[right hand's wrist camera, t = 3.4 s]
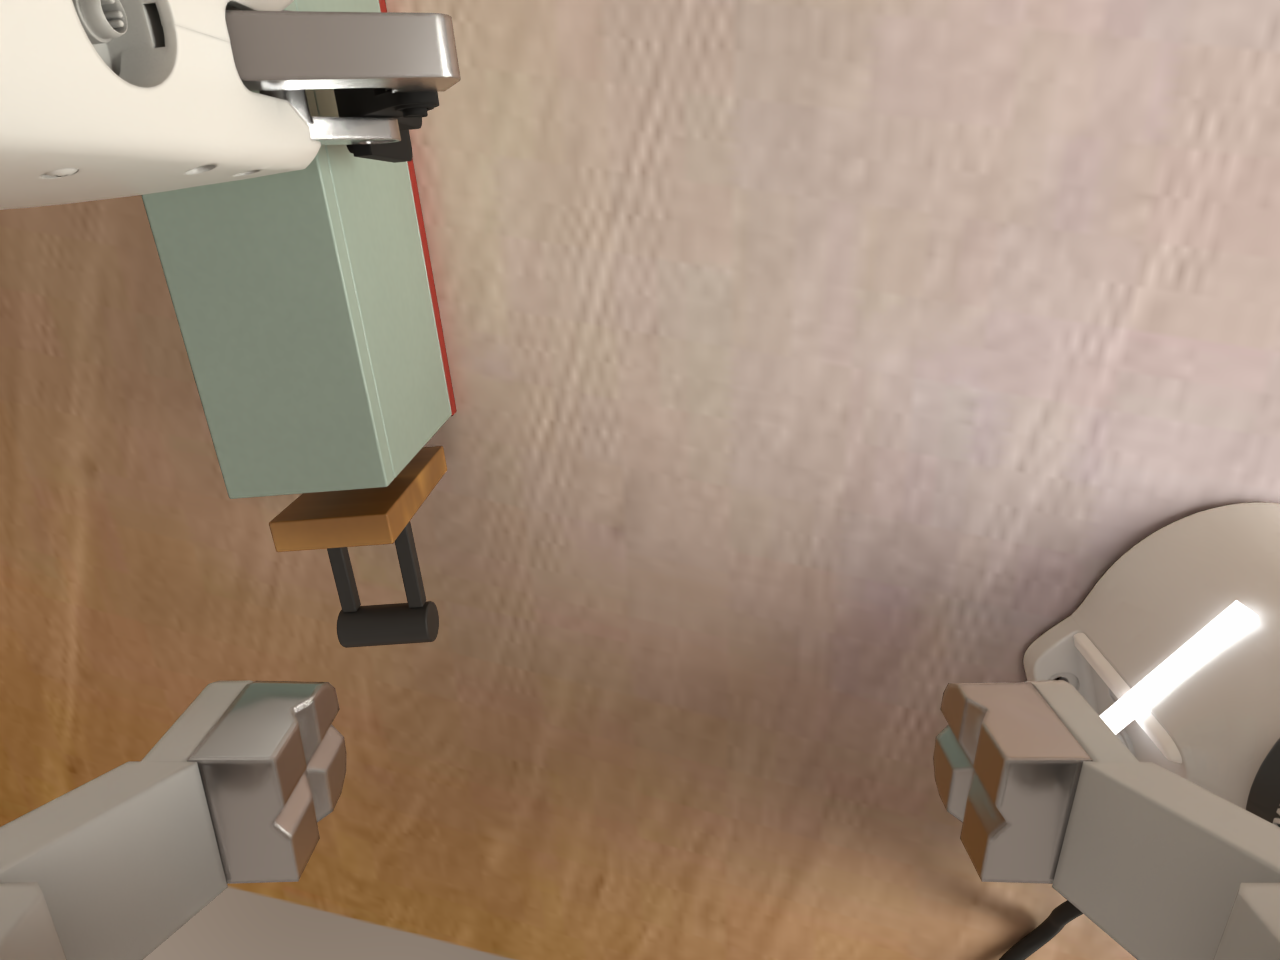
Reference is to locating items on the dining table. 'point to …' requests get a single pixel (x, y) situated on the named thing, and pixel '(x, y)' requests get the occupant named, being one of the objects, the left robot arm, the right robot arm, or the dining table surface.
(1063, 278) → the dining table surface
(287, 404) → the red-trimmed green box
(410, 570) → the drawer
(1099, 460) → the dining table surface
